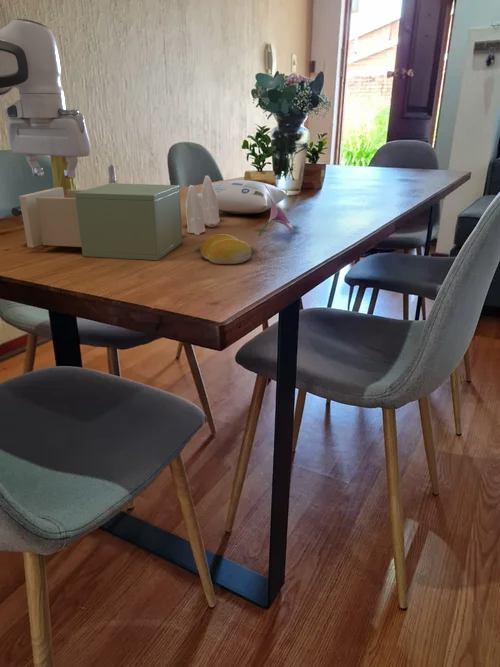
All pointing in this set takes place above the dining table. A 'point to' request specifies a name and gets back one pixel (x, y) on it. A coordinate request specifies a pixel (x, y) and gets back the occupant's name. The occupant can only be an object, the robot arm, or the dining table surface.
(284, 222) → the lily
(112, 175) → the screw
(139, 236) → the cabinet
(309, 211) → the dining table surface
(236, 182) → the pouch
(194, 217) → the shaker set
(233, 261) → the bread roll
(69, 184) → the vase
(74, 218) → the drawer
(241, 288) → the dining table surface
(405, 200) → the dining table surface
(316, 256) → the dining table surface
